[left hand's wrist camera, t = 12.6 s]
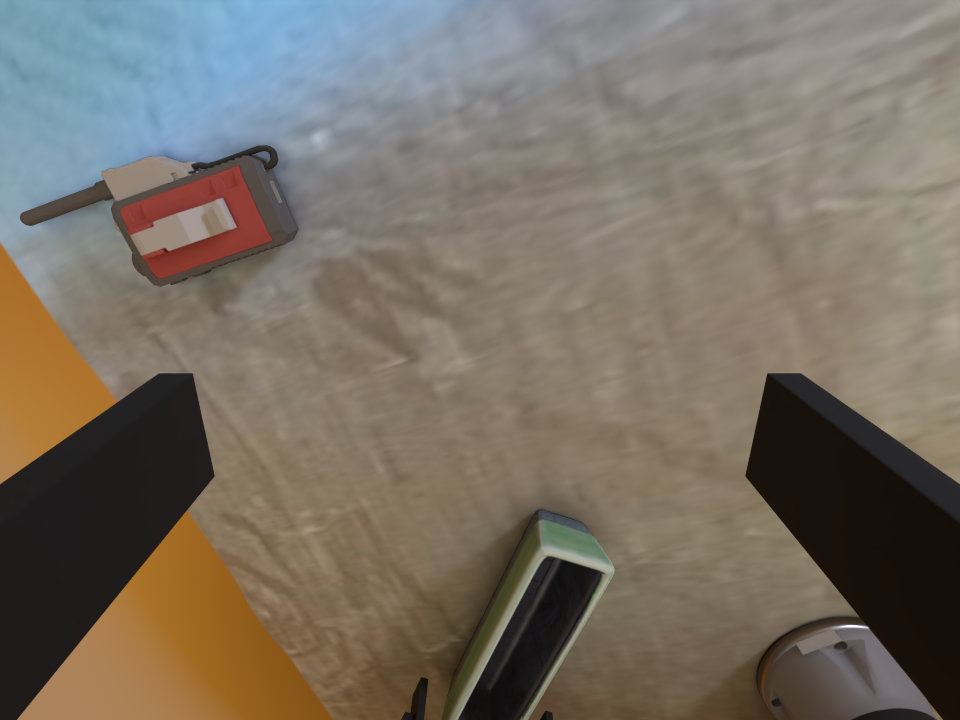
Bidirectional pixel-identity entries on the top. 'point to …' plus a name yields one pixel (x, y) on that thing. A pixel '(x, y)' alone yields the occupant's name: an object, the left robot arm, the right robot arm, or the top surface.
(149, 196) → the walkie-talkie
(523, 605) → the planter
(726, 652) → the top surface
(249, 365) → the top surface
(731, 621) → the top surface
